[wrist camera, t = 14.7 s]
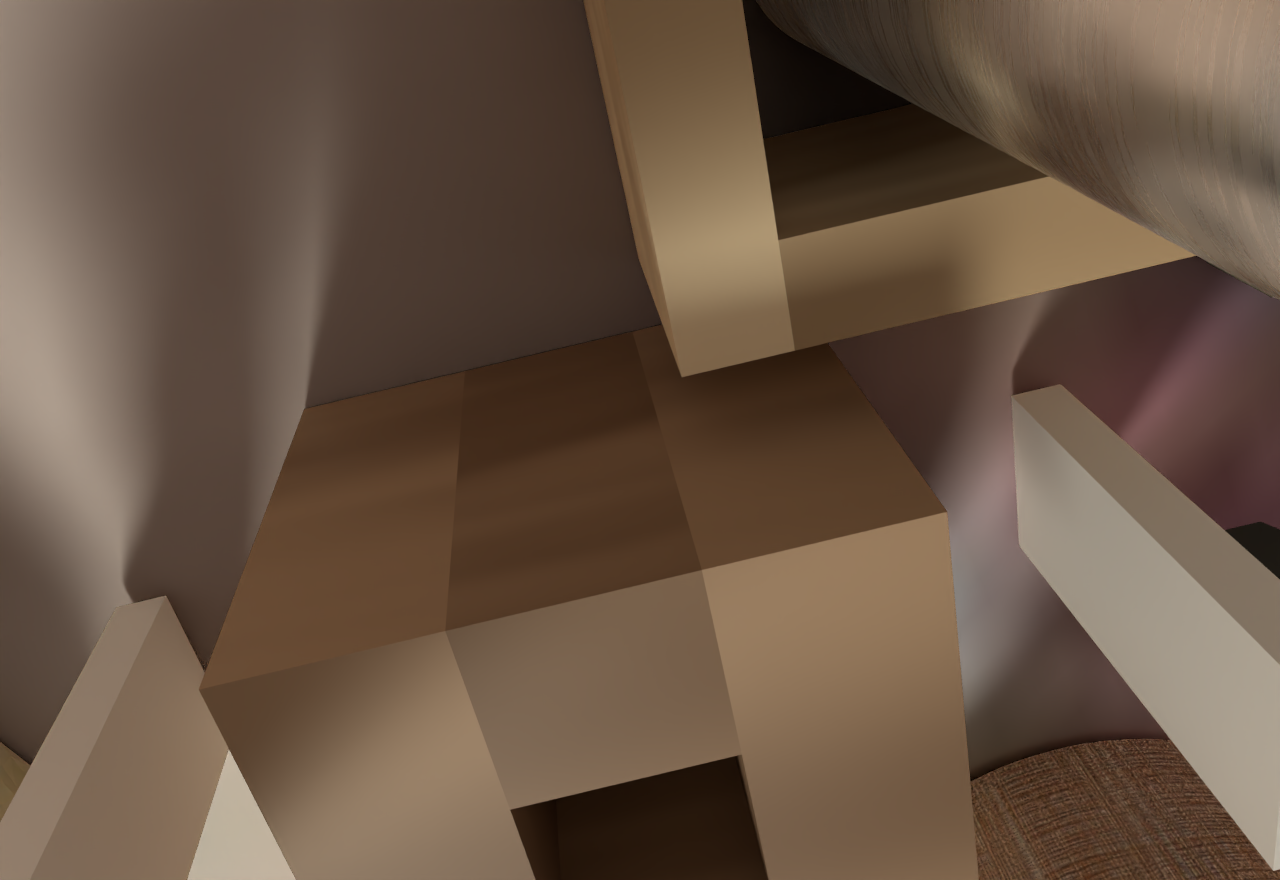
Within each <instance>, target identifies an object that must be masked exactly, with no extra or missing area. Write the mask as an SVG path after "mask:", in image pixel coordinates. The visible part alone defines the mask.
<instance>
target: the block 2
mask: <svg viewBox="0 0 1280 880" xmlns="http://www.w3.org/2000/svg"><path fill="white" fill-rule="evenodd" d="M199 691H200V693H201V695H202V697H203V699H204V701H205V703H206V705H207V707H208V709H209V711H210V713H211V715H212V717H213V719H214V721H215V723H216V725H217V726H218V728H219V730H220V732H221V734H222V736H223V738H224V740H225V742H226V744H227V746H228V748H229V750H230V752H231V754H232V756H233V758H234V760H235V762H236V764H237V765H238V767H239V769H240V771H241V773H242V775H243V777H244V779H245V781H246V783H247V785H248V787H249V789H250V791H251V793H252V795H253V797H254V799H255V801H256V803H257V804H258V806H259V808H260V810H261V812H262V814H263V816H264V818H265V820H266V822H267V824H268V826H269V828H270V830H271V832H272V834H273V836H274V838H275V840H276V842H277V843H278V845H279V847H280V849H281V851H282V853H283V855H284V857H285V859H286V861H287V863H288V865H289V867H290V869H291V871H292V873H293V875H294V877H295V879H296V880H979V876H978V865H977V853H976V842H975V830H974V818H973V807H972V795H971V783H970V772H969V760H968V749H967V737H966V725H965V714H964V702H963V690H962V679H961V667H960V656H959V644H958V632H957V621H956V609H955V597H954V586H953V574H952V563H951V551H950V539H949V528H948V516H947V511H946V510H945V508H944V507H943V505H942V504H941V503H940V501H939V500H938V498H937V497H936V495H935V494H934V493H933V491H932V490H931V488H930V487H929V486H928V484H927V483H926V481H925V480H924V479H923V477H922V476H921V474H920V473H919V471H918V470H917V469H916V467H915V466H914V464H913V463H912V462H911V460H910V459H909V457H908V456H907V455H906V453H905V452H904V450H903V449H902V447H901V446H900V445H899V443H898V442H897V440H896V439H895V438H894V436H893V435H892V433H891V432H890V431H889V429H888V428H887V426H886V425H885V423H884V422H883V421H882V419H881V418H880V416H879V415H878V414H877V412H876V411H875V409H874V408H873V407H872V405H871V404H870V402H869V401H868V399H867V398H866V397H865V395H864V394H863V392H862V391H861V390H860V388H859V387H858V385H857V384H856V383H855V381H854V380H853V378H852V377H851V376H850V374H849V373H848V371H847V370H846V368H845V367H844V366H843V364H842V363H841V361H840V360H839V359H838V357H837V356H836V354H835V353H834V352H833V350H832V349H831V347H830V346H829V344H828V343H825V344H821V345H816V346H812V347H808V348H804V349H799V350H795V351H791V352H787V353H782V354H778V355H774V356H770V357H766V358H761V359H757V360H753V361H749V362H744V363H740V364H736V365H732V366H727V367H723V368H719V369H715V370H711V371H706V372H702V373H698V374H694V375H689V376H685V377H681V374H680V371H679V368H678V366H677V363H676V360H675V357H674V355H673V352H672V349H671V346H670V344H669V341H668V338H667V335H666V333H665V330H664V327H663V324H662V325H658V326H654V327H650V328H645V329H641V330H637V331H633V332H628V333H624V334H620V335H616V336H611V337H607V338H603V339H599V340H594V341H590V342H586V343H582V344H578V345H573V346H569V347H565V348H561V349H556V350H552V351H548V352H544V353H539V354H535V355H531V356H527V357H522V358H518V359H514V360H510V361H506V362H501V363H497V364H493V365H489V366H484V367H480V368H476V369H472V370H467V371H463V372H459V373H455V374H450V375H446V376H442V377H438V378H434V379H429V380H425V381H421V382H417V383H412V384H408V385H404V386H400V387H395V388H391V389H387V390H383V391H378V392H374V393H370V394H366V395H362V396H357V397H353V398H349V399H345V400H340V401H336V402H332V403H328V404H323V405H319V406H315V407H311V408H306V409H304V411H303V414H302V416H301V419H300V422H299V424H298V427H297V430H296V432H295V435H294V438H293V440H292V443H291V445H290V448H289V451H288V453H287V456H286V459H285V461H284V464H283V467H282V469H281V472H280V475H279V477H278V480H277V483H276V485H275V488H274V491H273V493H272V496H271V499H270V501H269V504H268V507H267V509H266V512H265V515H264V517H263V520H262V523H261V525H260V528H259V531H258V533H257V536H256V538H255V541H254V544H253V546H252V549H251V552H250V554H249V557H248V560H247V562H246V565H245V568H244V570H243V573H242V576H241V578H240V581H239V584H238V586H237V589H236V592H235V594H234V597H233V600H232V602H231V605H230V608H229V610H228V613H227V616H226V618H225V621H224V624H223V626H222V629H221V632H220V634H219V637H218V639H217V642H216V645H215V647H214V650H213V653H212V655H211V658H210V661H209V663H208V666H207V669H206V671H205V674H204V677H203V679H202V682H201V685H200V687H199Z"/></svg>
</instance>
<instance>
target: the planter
mask: <svg viewBox="0 0 1280 880" xmlns="http://www.w3.org/2000/svg"><path fill="white" fill-rule="evenodd" d="M970 783H971V795H972V807H973V818H974V830H975V842H976V853H977V865H978V876H979V880H1280V869H1279V870H1275V871H1273V870H1272V868H1271V867H1270V866H1269V865H1268V863H1267V862H1266V861H1265V860H1264V858H1263V857H1262V856H1261V854H1260V853H1259V852H1258V851H1257V849H1256V848H1255V847H1254V845H1253V844H1252V843H1251V842H1250V840H1249V839H1248V838H1247V837H1246V835H1245V834H1244V833H1243V831H1242V830H1241V829H1240V828H1239V826H1238V825H1237V824H1236V822H1235V821H1234V820H1233V819H1232V817H1231V816H1230V815H1229V813H1228V812H1227V811H1226V810H1225V808H1224V807H1223V806H1222V805H1221V803H1220V802H1219V801H1218V799H1217V798H1216V797H1215V796H1214V794H1213V793H1212V792H1211V790H1210V789H1209V788H1208V787H1207V785H1206V784H1205V783H1204V782H1203V780H1202V779H1201V778H1200V776H1199V775H1198V774H1197V773H1196V771H1195V770H1194V769H1193V767H1192V766H1191V765H1190V764H1189V762H1188V761H1187V760H1186V759H1185V757H1184V756H1183V755H1182V753H1181V752H1180V751H1179V750H1178V748H1177V747H1176V746H1175V744H1174V743H1173V742H1172V741H1171V740H1160V739H1122V740H1107V741H1099V742H1091V743H1085V744H1080V745H1074V746H1069V747H1065V748H1061V749H1057V750H1053V751H1049V752H1045V753H1042V754H1039V755H1035V756H1032V757H1029V758H1025V759H1022V760H1020V761H1017V762H1014V763H1011V764H1008V765H1006V766H1003V767H1001V768H998V769H996V770H994V771H992V772H990V773H987V774H985V775H983V776H981V777H979V778H977V779H975V780H973V781H971V782H970Z"/></svg>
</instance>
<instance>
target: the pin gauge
mask: <svg viewBox="0 0 1280 880" xmlns="http://www.w3.org/2000/svg"><path fill="white" fill-rule="evenodd" d="M756 2H757V3H758V5H759V6H760V7H761V9H762V10H763V12H764V13H765V14H766V15H767V17H768V18H769V19H770V20H771V21H772V22H773V23H774V24H775V25H776V26H777V27H778V28H779V29H781V30H782V31H783V32H784V33H785V34H787V35H788V36H790V37H792V38H793V39H795V40H796V41H798V42H800V43H802V44H803V45H805V46H807V47H809V48H811V49H813V50H815V51H816V52H818V53H820V54H822V55H824V56H826V57H828V58H829V59H831V60H833V61H835V62H837V63H839V64H841V65H843V66H844V67H846V68H848V69H850V70H852V71H854V72H856V73H857V74H859V75H861V76H863V77H865V78H867V79H869V80H870V81H872V82H874V83H876V84H878V85H880V86H882V87H884V88H885V89H887V90H889V91H891V92H893V93H895V94H897V95H898V96H900V97H902V98H904V99H906V100H908V101H910V102H911V103H913V104H915V105H917V106H919V107H921V108H923V109H924V110H926V111H928V112H930V113H932V114H934V115H936V116H938V117H939V118H941V119H943V120H945V121H947V122H949V123H951V124H952V125H954V126H956V127H958V128H960V129H962V130H964V131H965V132H967V133H969V134H971V135H973V136H975V137H977V138H978V139H980V140H982V141H984V142H986V143H988V144H990V145H992V146H993V147H995V148H997V149H999V150H1001V151H1003V152H1005V153H1006V154H1008V155H1010V156H1012V157H1014V158H1016V159H1018V160H1019V161H1021V162H1023V163H1025V164H1027V165H1029V166H1031V167H1032V168H1034V169H1036V170H1038V171H1040V172H1042V173H1044V174H1046V175H1047V176H1049V177H1051V178H1053V179H1055V180H1057V181H1059V182H1060V183H1062V184H1064V185H1066V186H1068V187H1070V188H1072V189H1073V190H1075V191H1077V192H1079V193H1081V194H1083V195H1085V196H1086V197H1088V198H1090V199H1092V200H1094V201H1096V202H1098V203H1100V204H1101V205H1103V206H1105V207H1107V208H1109V209H1111V210H1113V211H1114V212H1116V213H1118V214H1120V215H1122V216H1124V217H1126V218H1127V219H1129V220H1131V221H1133V222H1135V223H1137V224H1139V225H1140V226H1142V227H1144V228H1146V229H1148V230H1150V231H1152V232H1154V233H1155V234H1157V235H1159V236H1161V237H1163V238H1165V239H1167V240H1168V241H1170V242H1172V243H1174V244H1176V245H1178V246H1180V247H1181V248H1183V249H1185V250H1187V251H1189V252H1191V253H1193V254H1194V255H1196V256H1198V257H1200V258H1202V259H1204V260H1206V261H1208V262H1209V263H1211V264H1213V265H1215V266H1217V267H1219V268H1221V269H1222V270H1224V271H1226V272H1228V273H1230V274H1232V275H1234V276H1235V277H1237V278H1239V279H1241V280H1243V281H1245V282H1247V283H1248V284H1250V285H1252V286H1254V287H1256V288H1258V289H1260V290H1262V291H1263V292H1265V293H1267V294H1269V295H1271V296H1273V297H1275V298H1276V299H1278V300H1280V0H756Z"/></svg>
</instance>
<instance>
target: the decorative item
mask: <svg viewBox="0 0 1280 880" xmlns="http://www.w3.org/2000/svg"><path fill="white" fill-rule="evenodd" d="M30 766H31V765H30V764H28V763H27V762H26V761H24V760H23V759H22V758H20V757H19V756H18V755H16V754H15V753H14V752H13V751H11V750H10V749H9V748H7V747H6V746H5V745H3V744H2V743H1V742H0V822H1V820H2V818H3V816H4V814H5V812H6V811H7V809H8V807H9V805H10V803H11V801H12V799H13V798H14V796H15V794H16V792H17V790H18V788H19V786H20V785H21V783H22V781H23V779H24V777H25V775H26V774H27V772H28V770H29V768H30Z"/></svg>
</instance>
